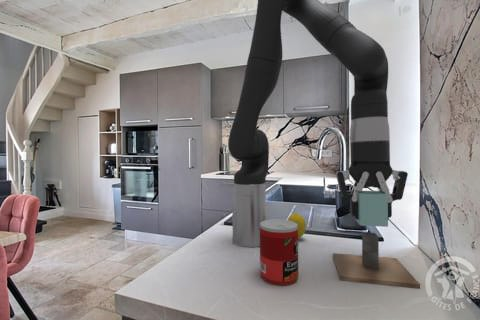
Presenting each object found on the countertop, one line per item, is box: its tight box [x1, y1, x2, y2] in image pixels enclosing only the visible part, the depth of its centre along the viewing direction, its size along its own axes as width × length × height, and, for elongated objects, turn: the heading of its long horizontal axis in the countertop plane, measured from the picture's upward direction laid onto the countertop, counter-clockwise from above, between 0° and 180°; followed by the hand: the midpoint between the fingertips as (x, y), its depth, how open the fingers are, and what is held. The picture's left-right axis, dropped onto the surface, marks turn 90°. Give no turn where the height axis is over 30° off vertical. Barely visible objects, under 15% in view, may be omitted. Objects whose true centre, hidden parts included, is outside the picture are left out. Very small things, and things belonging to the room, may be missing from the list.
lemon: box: [287, 212, 307, 239], centre depth 74 cm, size 6×6×8 cm
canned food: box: [259, 218, 299, 286], centre depth 51 cm, size 8×8×11 cm
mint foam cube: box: [354, 190, 389, 228], centre depth 53 cm, size 5×5×7 cm
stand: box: [332, 231, 421, 289], centre depth 53 cm, size 14×12×8 cm
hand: (370, 218), depth 53 cm, fingers closed on mint foam cube, 5 cm apart
